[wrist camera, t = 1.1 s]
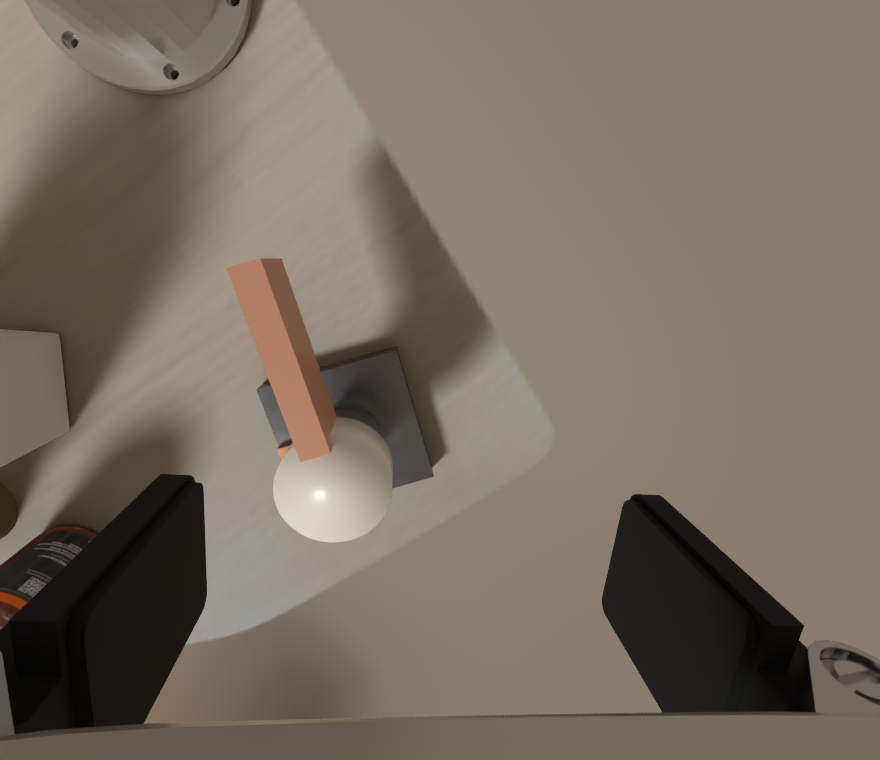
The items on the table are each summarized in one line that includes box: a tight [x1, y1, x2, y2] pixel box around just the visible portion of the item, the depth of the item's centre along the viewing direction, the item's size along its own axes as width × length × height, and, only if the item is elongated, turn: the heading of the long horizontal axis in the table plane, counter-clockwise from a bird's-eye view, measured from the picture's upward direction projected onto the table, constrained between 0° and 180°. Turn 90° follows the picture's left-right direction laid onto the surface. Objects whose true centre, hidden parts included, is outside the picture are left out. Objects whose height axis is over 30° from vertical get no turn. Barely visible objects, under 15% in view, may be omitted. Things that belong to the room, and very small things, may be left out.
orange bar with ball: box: [226, 259, 393, 542], centre depth 25 cm, size 16×6×4 cm, turn 15°
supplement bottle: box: [0, 526, 98, 630], centre depth 30 cm, size 6×6×11 cm
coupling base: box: [257, 347, 434, 488], centre depth 32 cm, size 10×10×6 cm
